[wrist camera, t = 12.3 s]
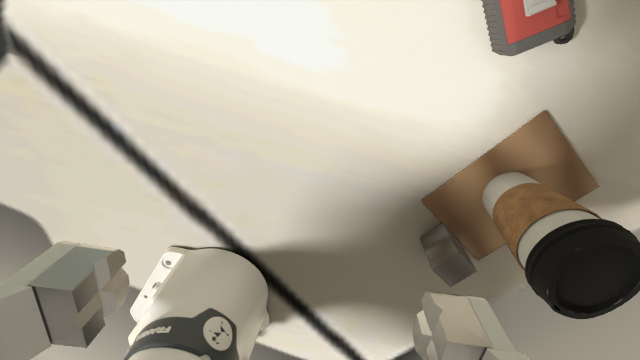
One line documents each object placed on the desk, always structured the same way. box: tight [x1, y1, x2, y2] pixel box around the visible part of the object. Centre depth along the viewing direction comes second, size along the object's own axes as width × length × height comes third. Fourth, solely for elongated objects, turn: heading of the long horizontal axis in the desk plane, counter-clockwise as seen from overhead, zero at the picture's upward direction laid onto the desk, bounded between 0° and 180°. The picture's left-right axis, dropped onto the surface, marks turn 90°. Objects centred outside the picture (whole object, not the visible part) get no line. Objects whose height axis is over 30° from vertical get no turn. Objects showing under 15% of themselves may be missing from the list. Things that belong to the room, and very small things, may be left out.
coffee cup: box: [482, 172, 640, 319], centre depth 31 cm, size 8×8×15 cm
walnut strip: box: [420, 111, 599, 287], centre depth 36 cm, size 20×12×6 cm, turn 134°
